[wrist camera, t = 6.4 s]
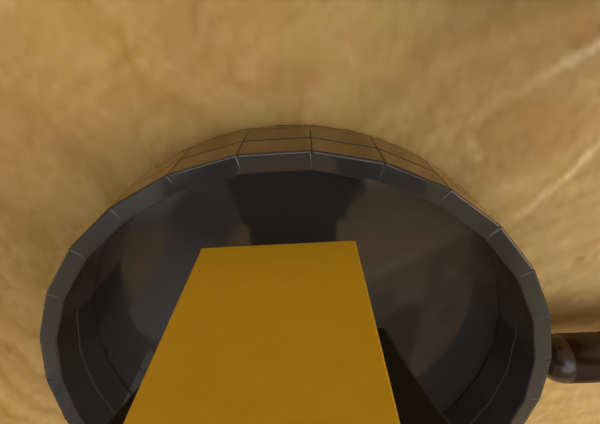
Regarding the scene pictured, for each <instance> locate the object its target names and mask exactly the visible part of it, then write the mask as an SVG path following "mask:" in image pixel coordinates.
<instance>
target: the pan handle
mask: <svg viewBox="0 0 600 424" xmlns="http://www.w3.org/2000/svg"><path fill="white" fill-rule="evenodd" d="M551 353H552V358H551V363H550V367H549V370H548V373H547V377H548V378H549V379H551V380H553V381H556V382H560V383H594V382H600V332H579V333H555V334H551Z"/></svg>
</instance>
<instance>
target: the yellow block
mask: <svg viewBox="0 0 600 424" xmlns="http://www.w3.org/2000/svg"><path fill="white" fill-rule="evenodd" d="M123 424H400V420H399V416H398V412H397V408H396V404H395V400H394V396H393V392H392V388H391V384H390V380H389V376H388V372H387V367H386V363H385V359H384V355H383V351H382V347H381V343H380V339H379V335H378V331H377V327H376V323H375V319H374V315H373V310H372V306H371V302H370V298H369V294H368V290H367V286H366V282H365V278H364V274H363V270H362V266H361V262H360V258H359V254H358V249H357V245H356V242H355V241H336V242H316V243H296V244H276V245H256V246H235V247H215V248H202V249H201V251H200V254H199V256H198V258H197V260H196V262H195V265H194V267H193V269H192V271H191V274H190V276H189V278H188V280H187V283H186V285H185V287H184V289H183V291H182V294H181V296H180V298H179V300H178V303H177V305H176V307H175V309H174V311H173V314H172V316H171V318H170V320H169V323H168V325H167V327H166V329H165V332H164V334H163V336H162V338H161V340H160V343H159V345H158V347H157V349H156V352H155V354H154V356H153V358H152V360H151V363H150V365H149V367H148V369H147V372H146V374H145V376H144V378H143V381H142V383H141V385H140V387H139V389H138V392H137V394H136V396H135V398H134V401H133V403H132V405H131V407H130V409H129V412H128V414H127V416H126V418H125V421H124V423H123Z"/></svg>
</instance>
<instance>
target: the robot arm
mask: <svg viewBox="0 0 600 424" xmlns="http://www.w3.org/2000/svg"><path fill="white" fill-rule="evenodd" d="M377 331H378V335H379V339H380V343H381V347H382V351H383V355H384V359H385V363H386V367H387V372H388V376H389V380H390V384H391V388H392V392H393V396H394V400H395V404H396V408H397V412H398V416H399V420H400V424H451V423H450V422H449V421H448V419H447V418H446V417H445V416H444V414H443V413H442V412H441V410H440V409H439V408H438V407H437V405H436V404H435V403H434V401H433V400H432V399H431V397H430V396H429V395H428V393H427V392H426V390H425V389H424V388H423V386H422V385H421V384H420V382H419V381H418V379H417V378H416V377H415V375H414V374H413V372H412V371H411V369H410V368H409V366H408V365H407V363H406V362H405V360H404V359H403V357H402V355H401V354H400V352H399V351H398V349H397V347H396V346H395V344H394V342H393V340H392V339H391V337H390V335H389V333H388V331H387V330H385V329H384V328H377ZM139 387H140V386H139ZM139 387H138V388H137V389H136V391H135V392H134V393H133V394H132V395H131V396H130V398H129V399H128V400H127V401H126V402H125V403H124V405H123V406H122V407H121V408H120V409H119V410H118V411H117V413H116V414H115V415H114V416H113V417H112V418H111V419H110V420H109V421H108V422H107V423H106V424H123V423H124V421H125V418H126V416H127V414H128V412H129V409H130V407H131V405H132V403H133V401H134V398H135V396H136V394H137V392H138V389H139Z"/></svg>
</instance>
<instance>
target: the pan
mask: <svg viewBox="0 0 600 424" xmlns="http://www.w3.org/2000/svg"><path fill="white" fill-rule="evenodd" d="M336 241H355V242H356V245H357V249H358V254H359V258H360V262H361V266H362V270H363V274H364V278H365V282H366V286H367V290H368V294H369V298H370V302H371V306H372V310H373V315H374V319H375V323H376V327H377V328H384V329H385V330H387V331H388V333H389V335H390V337H391V339H392V340H393V342H394V344H395V346H396V347H397V349H398V351H399V352H400V354H401V355H402V357H403V359H404V360H405V362H406V363H407V365H408V366H409V368H410V369H411V371H412V372H413V374H414V375H415V377H416V378H417V379H418V381H419V382H420V384H421V385H422V386H423V388H424V389H425V390H426V392H427V393H428V395H429V396H430V397H431V399H432V400H433V401H434V403H435V404H436V405H437V407H438V408H439V409H440V410H441V412H442V413H443V414H444V416H445V417H446V418H447V419H448V421H449V422H450V423H451V424H525V422H526V420H527V419H528V417H529V416H530V414H531V412H532V411H533V409H534V407H535V406H536V404H537V403H538V401H539V399H540V397H541V394H542V390H543V387H544V384H545V380H546V377H547V373H548V370H549V367H550V363H551V358H552V353H551V315H550V311H549V309H548V306H547V303H546V300H545V297H544V295H543V292H542V289H541V286H540V283H539V281H538V278H537V275H536V272H535V270H534V269H533V267H532V265H531V264H530V263H529V261H528V260H527V259H526V257H525V256H524V255H523V254H522V252H521V251H520V250H519V248H518V247H517V246H516V244H515V243H514V242H513V240H512V239H511V238H510V237H509V235H508V234H507V233H506V231H505V230H504V229H503V227H502V226H501V225H500V224H499V223H498V222H497V221H496V220H495V219H494V218H493V217H492V216H491V215H490V214H489V213H488V212H487V211H486V210H485V209H484V208H483V207H482V206H481V205H480V204H479V203H478V202H477V201H476V200H475V199H474V198H473V197H472V196H471V195H470V194H469V193H468V192H467V191H466V190H465V189H463V188H462V187H461V186H459V185H458V184H457V183H455V182H454V181H453V180H451V179H450V178H449V177H448V176H447V175H445V174H444V173H443V172H442V171H441V170H439V169H438V168H437V167H435V166H433V165H432V164H430V163H428V162H427V161H425V160H424V159H422V158H420V157H419V156H417V155H415V154H414V153H412V152H410V151H408V150H405V149H403V148H401V147H398V146H396V145H394V144H391V143H389V142H387V141H384V140H382V139H379V138H375V137H371V136H368V135H364V134H361V133H357V132H353V131H350V130H343V129H336V128H329V127H321V126H306V125H279V126H271V127H263V128H255V129H247V130H242V131H238V132H235V133H231V134H227V135H223V136H220V137H216V138H212V139H210V140H208V141H205V142H203V143H200V144H198V145H196V146H193V147H191V148H188V149H186V150H184V151H182V152H180V153H178V154H177V155H175V156H173V157H172V158H170V159H168V160H167V161H165V162H163V163H162V164H160V165H158V166H157V167H155V168H154V169H153V170H151V171H150V172H148V173H146V174H145V175H143V176H142V177H141V178H140V179H139V180H138V181H137V182H136V183H134V184H133V185H132V186H131V187H130V188H129V189H128V190H127V191H126V192H125V193H124V194H123V195H122V196H121V197H120V198H119V199H118V200H117V201H115V202H114V203H113V204H112V205H111V206H110V207H109V208H108V209H107V210H106V211H105V212H104V213H103V214H102V215H101V216H100V217H99V218H98V219H97V220H96V221H95V222H94V223H93V224H92V225H91V226H90V227H89V228H88V229H87V230H86V231H85V232H84V233H83V234H82V235H81V236H80V237H79V238H78V239H77V240H76V241H75V242H74V243H73V244H72V245H71V247H70V248H69V250H68V252H67V254H66V256H65V258H64V259H63V261H62V263H61V265H60V267H59V269H58V271H57V273H56V275H55V277H54V279H53V281H52V283H51V285H50V286H49V288H48V290H47V293H46V299H45V305H44V311H43V318H42V324H41V330H40V343H41V349H42V356H43V362H44V368H45V374H46V379H47V382H48V384H49V386H50V388H51V390H52V392H53V395H54V397H55V399H56V401H57V403H58V405H59V407H60V409H61V411H62V413H63V416H64V417H65V419H66V420H67V422H68V423H69V424H106V423H107V422H108V421H109V420H110V419H111V418H112V417H113V416H114V415H115V414H116V413H117V411H118V410H119V409H120V408H121V407H122V406H123V405H124V403H125V402H126V401H127V400H128V399H129V398H130V396H131V395H132V394H133V393H134V392H135V391H136V389H137V388H138V387H139V386H140V385H141V383H142V381H143V378H144V376H145V374H146V372H147V369H148V367H149V365H150V363H151V360H152V358H153V356H154V354H155V352H156V349H157V347H158V345H159V343H160V340H161V338H162V336H163V334H164V332H165V329H166V327H167V325H168V323H169V320H170V318H171V316H172V314H173V311H174V309H175V307H176V305H177V303H178V300H179V298H180V296H181V294H182V291H183V289H184V287H185V285H186V283H187V280H188V278H189V276H190V274H191V271H192V269H193V267H194V265H195V262H196V260H197V258H198V256H199V254H200V251H201V249H202V248H215V247H235V246H256V245H276V244H296V243H316V242H336Z"/></svg>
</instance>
